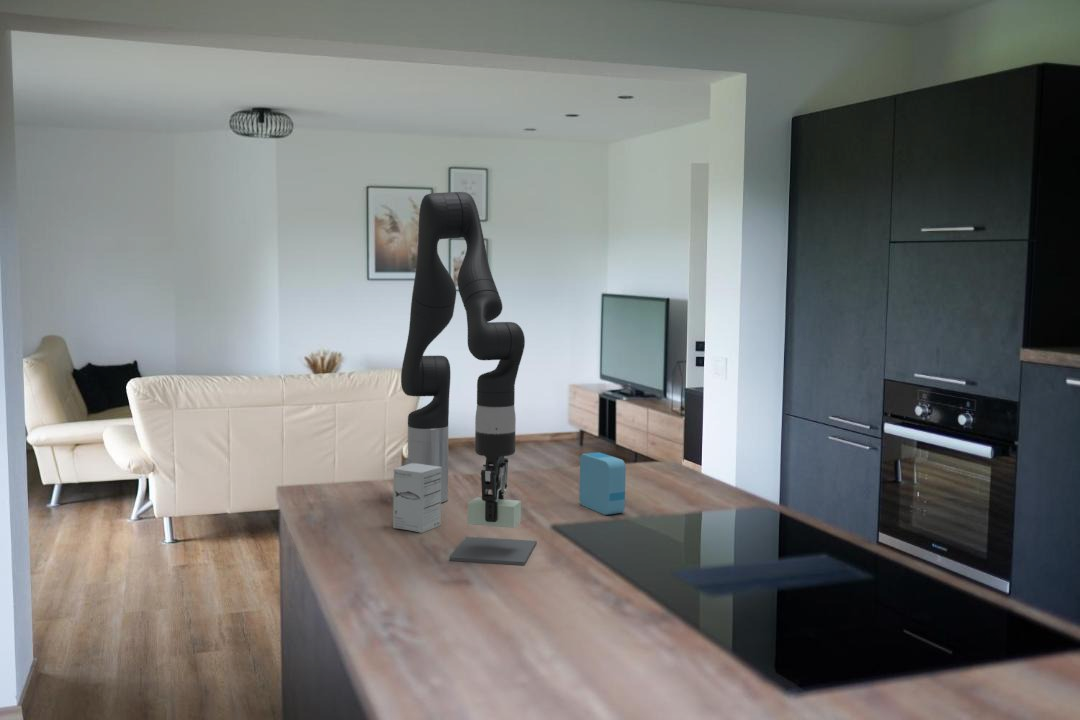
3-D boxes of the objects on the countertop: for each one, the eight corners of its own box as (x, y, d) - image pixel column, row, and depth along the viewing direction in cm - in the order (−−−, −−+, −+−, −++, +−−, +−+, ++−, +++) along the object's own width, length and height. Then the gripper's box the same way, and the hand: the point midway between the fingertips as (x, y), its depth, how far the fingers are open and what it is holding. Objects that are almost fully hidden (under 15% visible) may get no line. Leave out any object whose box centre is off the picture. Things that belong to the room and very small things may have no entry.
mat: (449, 560, 181) (449, 557, 181) (466, 539, 195) (466, 536, 195) (524, 565, 179) (524, 562, 179) (536, 543, 193) (536, 540, 193)
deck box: (513, 528, 183) (514, 506, 182) (467, 524, 185) (467, 503, 184) (521, 521, 187) (521, 500, 187) (475, 517, 190) (476, 497, 189)
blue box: (625, 514, 217) (626, 460, 215) (607, 516, 214) (609, 462, 213) (595, 502, 227) (596, 451, 226) (578, 504, 225) (579, 452, 224)
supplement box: (391, 528, 202) (392, 468, 201) (412, 520, 208) (413, 461, 207) (421, 533, 198) (422, 472, 197) (442, 525, 205) (442, 465, 204)
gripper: (508, 435, 177) (506, 528, 178) (521, 423, 191) (520, 509, 193) (467, 434, 178) (466, 526, 180) (483, 422, 192) (482, 507, 194)
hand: (494, 517), depth 186 cm, fingers closed on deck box, 5 cm apart
